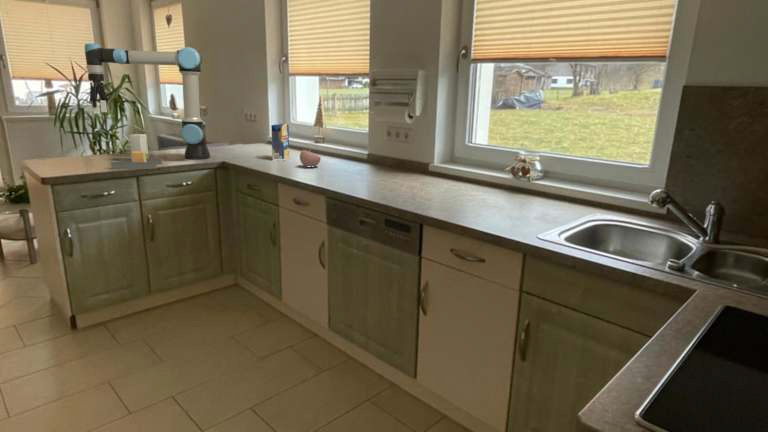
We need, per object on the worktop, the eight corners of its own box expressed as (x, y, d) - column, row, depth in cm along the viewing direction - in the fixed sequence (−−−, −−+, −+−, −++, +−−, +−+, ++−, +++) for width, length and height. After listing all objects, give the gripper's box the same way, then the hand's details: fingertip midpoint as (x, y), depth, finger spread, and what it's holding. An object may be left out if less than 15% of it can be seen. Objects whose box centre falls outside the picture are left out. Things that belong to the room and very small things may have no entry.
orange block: (146, 165, 268) (145, 151, 266) (144, 167, 263) (143, 152, 261) (135, 165, 267) (133, 151, 265) (132, 167, 261) (130, 152, 259)
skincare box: (142, 162, 278) (139, 135, 274) (131, 161, 278) (128, 134, 274) (149, 160, 286) (146, 133, 282) (138, 159, 286) (135, 133, 282)
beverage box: (289, 159, 309) (288, 124, 303) (282, 161, 299) (281, 125, 293) (279, 158, 310) (278, 123, 304) (272, 160, 300) (271, 125, 294)
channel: (162, 164, 274) (161, 158, 274) (156, 168, 260) (155, 162, 259) (119, 164, 269) (119, 158, 269) (111, 168, 255) (110, 162, 254)
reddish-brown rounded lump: (324, 168, 280) (324, 148, 277) (307, 169, 273) (306, 149, 270) (313, 165, 289) (313, 146, 286) (296, 166, 281) (295, 147, 278)
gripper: (95, 73, 275) (100, 111, 280) (79, 72, 251) (84, 114, 257) (110, 74, 277) (114, 111, 282) (95, 73, 253) (100, 114, 259)
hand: (100, 112), depth 270 cm, fingers open, 13 cm apart
